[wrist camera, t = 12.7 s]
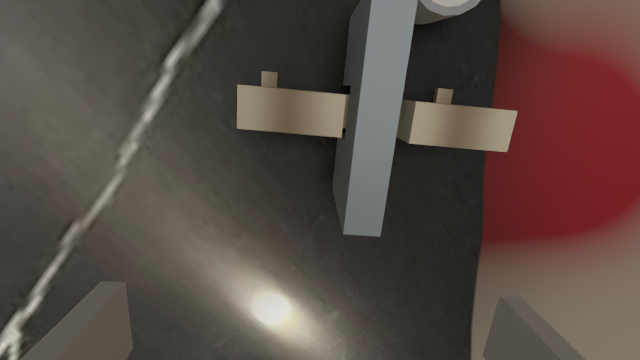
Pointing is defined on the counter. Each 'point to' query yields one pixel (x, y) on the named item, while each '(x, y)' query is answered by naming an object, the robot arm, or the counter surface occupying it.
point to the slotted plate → (371, 111)
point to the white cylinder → (441, 9)
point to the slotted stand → (332, 109)
